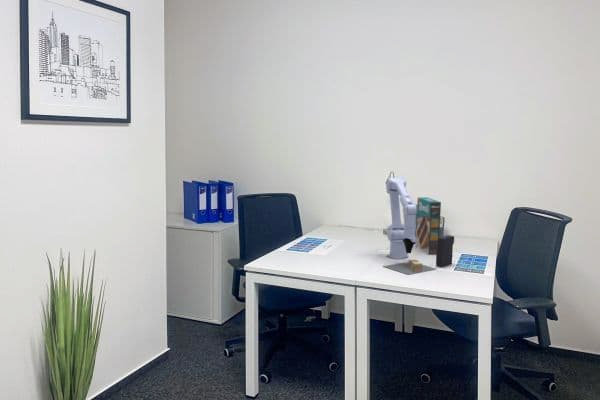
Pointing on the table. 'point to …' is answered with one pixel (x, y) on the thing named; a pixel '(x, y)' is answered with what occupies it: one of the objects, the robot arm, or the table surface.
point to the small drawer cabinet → (444, 250)
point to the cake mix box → (428, 224)
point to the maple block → (415, 265)
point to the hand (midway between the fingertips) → (408, 253)
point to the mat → (407, 268)
